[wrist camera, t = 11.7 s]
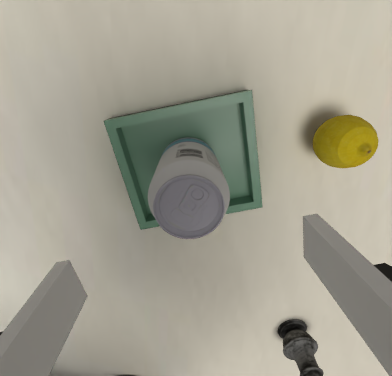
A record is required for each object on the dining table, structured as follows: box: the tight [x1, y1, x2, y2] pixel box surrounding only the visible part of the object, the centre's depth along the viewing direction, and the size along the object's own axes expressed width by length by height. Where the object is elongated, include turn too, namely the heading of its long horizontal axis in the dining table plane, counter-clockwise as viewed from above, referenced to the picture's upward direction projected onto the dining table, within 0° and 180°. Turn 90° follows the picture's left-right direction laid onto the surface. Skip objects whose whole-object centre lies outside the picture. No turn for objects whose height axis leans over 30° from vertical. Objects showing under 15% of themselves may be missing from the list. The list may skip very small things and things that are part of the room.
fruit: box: [313, 115, 378, 168], centre depth 25 cm, size 6×6×8 cm
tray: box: [104, 90, 262, 230], centre depth 28 cm, size 16×14×2 cm
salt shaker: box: [278, 319, 323, 376], centre depth 37 cm, size 6×6×12 cm
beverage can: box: [148, 137, 230, 239], centre depth 23 cm, size 7×7×12 cm
